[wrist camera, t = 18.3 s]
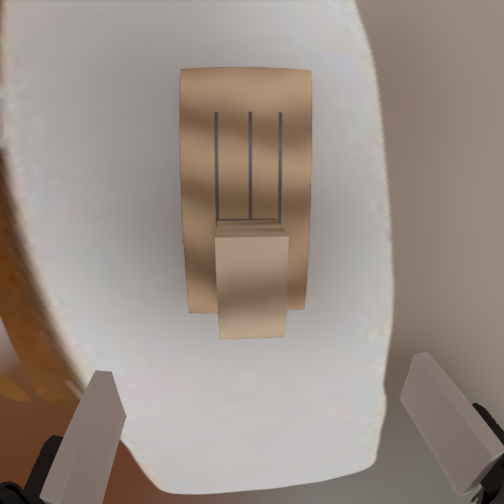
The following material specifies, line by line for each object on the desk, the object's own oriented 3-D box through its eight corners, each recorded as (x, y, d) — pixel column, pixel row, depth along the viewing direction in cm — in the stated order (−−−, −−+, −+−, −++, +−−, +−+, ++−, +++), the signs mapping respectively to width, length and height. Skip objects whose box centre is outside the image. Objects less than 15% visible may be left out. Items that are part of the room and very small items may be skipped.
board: (183, 73, 25) (180, 69, 23) (307, 74, 25) (311, 70, 24) (190, 305, 31) (189, 313, 30) (301, 302, 32) (304, 309, 31)
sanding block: (217, 219, 27) (214, 237, 22) (276, 218, 28) (288, 236, 22) (220, 304, 30) (219, 339, 24) (273, 302, 30) (284, 336, 24)
